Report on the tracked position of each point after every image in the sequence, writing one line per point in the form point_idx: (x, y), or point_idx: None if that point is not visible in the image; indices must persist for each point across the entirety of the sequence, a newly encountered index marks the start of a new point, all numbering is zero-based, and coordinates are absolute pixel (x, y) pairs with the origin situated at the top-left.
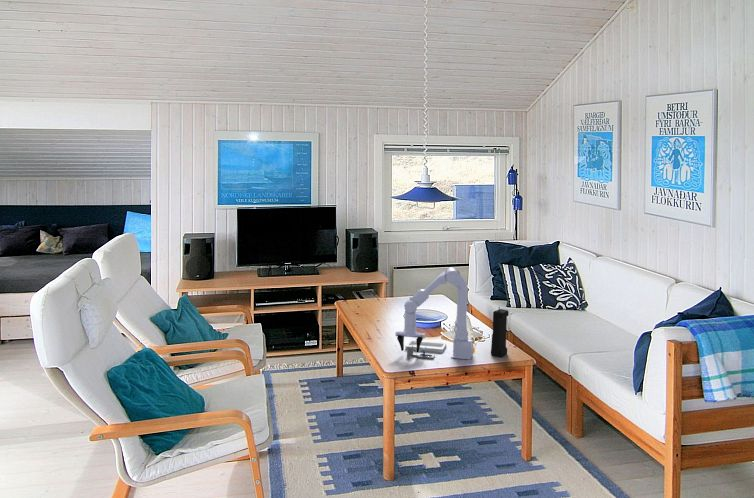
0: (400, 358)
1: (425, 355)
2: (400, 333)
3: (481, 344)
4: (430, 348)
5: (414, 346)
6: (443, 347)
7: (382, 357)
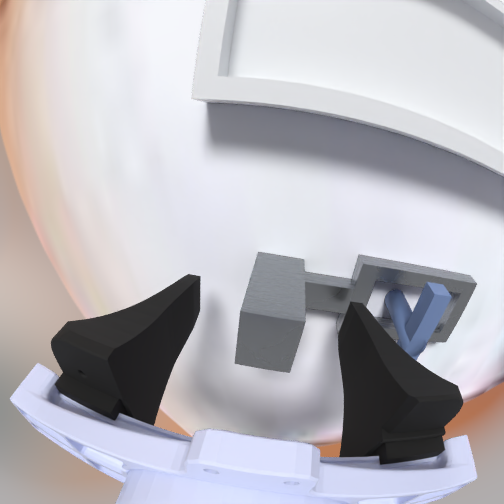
0: (210, 334)
1: (411, 280)
2: (101, 468)
3: None
4: (478, 161)
5: (308, 94)
6: None
7: (102, 313)
